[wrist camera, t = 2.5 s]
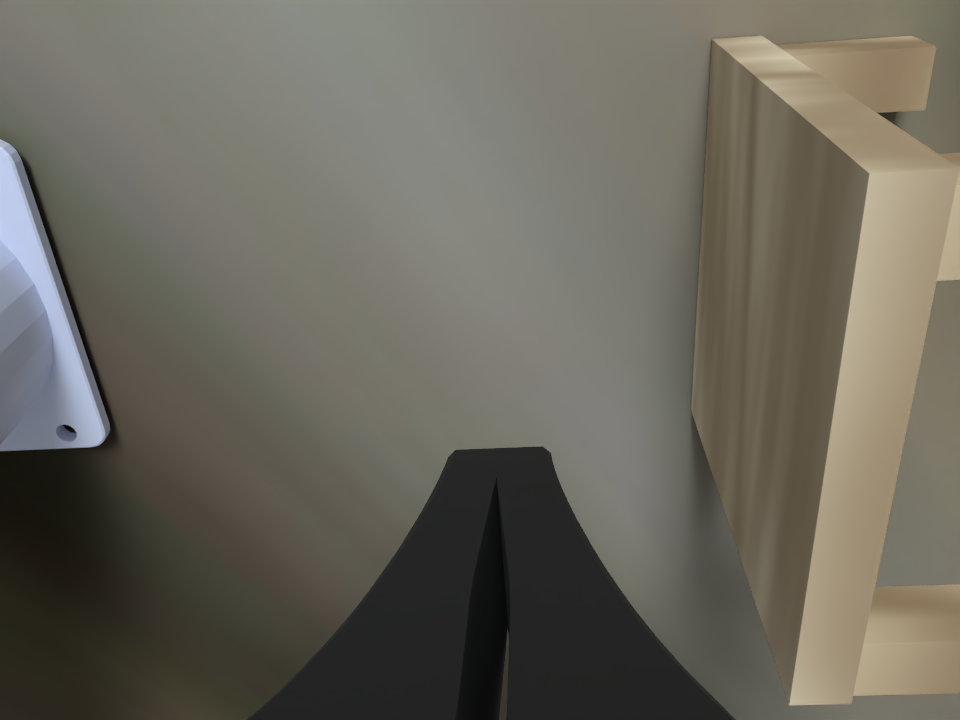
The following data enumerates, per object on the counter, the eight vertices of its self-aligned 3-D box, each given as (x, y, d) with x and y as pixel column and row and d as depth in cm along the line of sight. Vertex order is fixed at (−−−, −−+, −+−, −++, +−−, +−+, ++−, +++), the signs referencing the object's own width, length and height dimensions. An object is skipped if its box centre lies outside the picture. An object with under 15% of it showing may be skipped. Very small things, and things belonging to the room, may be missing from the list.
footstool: (691, 409, 22) (789, 705, 14) (712, 39, 18) (869, 173, 10) (851, 402, 22) (1040, 699, 14) (913, 24, 18) (1236, 152, 10)
